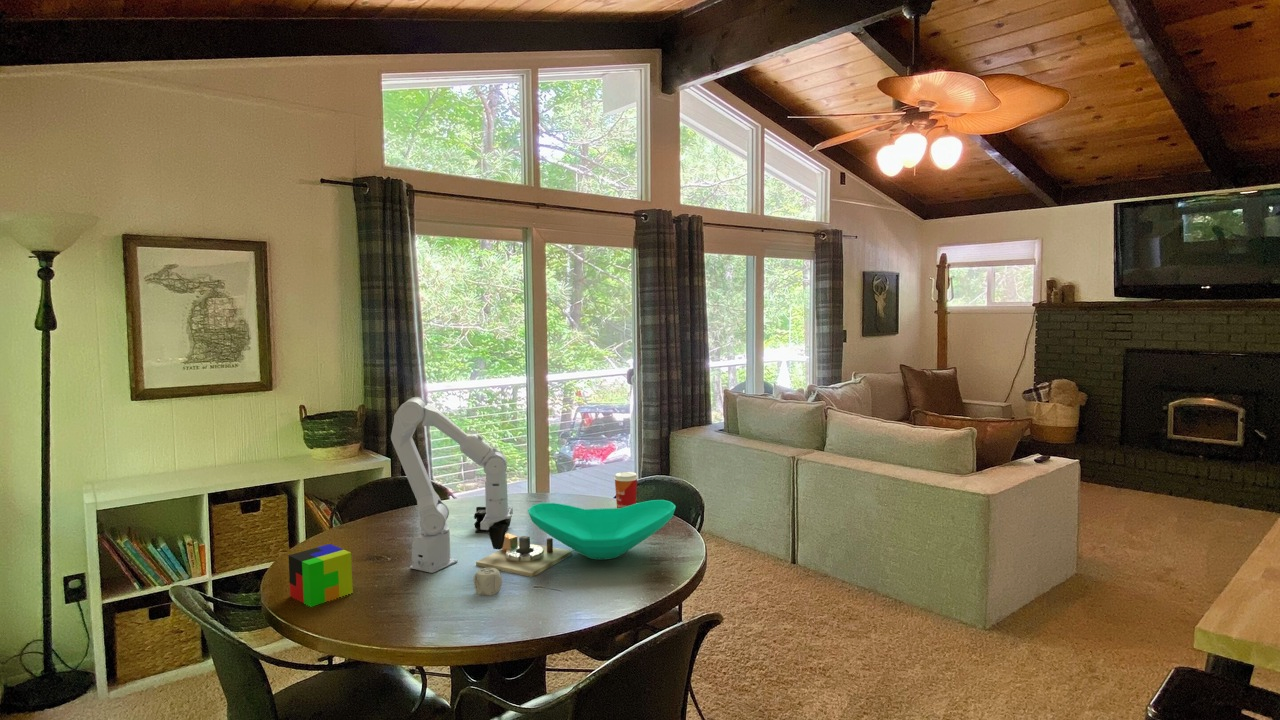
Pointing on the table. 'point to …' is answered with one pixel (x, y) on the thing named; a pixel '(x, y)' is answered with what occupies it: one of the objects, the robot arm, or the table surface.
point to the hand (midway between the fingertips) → (497, 548)
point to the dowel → (549, 545)
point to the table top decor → (602, 526)
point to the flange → (514, 552)
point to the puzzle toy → (320, 574)
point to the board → (525, 567)
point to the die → (487, 581)
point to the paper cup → (625, 488)
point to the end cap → (481, 519)
